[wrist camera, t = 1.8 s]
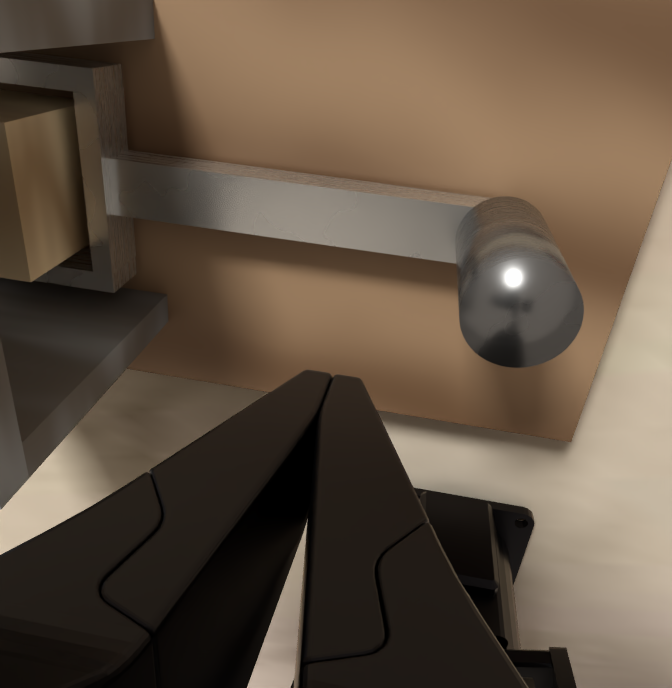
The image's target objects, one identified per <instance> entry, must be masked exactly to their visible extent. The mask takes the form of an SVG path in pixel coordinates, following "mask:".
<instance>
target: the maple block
mask: <svg viewBox="0 0 672 688" xmlns="http://www.w3.org/2000/svg"><path fill="white" fill-rule="evenodd" d="M89 244H90V241H89V232H88V223H87V214H86V205H85V196H84V187H83V178H82V169H81V160H80V151H79V142H78V133H77V125H76V116H75V107H74V99H72V98H64V97H56V96H48V95H40V94H32V93H24V92H16V91H8V90H0V278H6V279H13V280H19V281H26V282H32V281H34V280H35V279H37V278H38V277H40V276H41V275H43V274H44V273H46V272H48V271H49V270H51V269H52V268H54V267H55V266H57V265H58V264H60V263H61V262H63V261H64V260H66V259H67V258H69V257H70V256H72V255H74V254H75V253H77V252H78V251H80V250H81V249H83V248H84V247H86V246H87V245H89Z"/></svg>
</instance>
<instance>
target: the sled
mask: <svg viewBox="0 0 672 688" xmlns="http://www.w3.org/2000/svg"><path fill="white" fill-rule="evenodd" d="M0 82H1V83H9V84H17V85H25V86H33V87H41V88H49V89H57V90H65V91H73V98H74V107H75V116H76V125H77V133H78V142H79V151H80V160H81V169H82V178H83V187H84V196H85V205H86V214H87V223H88V232H89V241H90V249H86V248H83V249H81V250H80V251H78V252H77V253H75V254H74V255H72V256H70V257H69V258H67V259H66V260H64V261H63V262H61V263H60V264H58V265H57V266H55V267H54V268H52V269H51V270H49V271H48V272H46V273H44V274H43V275H41V276H40V277H38V278H37V279H35V280H34V281H39V282H46V283H52V284H59V285H65V286H72V287H78V288H85V289H91V290H98V291H104V292H111V293H115V292H116V291H117V290H118V289H119V288H120V287H122V286H123V285H124V284H125V283H126V282H127V281H129V280H130V279H131V278H132V277H133V276H135V275H136V274H137V264H136V251H135V237H134V223H133V218H139V219H146V220H153V221H160V222H167V223H174V224H181V225H188V226H195V227H202V228H209V229H216V230H223V231H230V232H237V233H244V234H251V235H258V236H265V237H272V238H279V239H286V240H293V241H300V242H307V243H315V244H322V245H329V246H336V247H343V248H350V249H357V250H364V251H371V252H378V253H385V254H392V255H399V256H406V257H413V258H420V259H427V260H434V261H441V262H448V263H455V264H456V268H457V287H458V305H459V322H460V328H461V331H462V335H463V337H464V339H465V341H466V342H467V344H468V345H469V346H470V348H471V349H472V350H473V351H474V352H475V353H476V354H478V355H479V356H480V357H482V358H483V359H485V360H487V361H489V362H491V363H493V364H496V365H499V366H504V367H511V368H524V367H531V366H536V365H539V364H542V363H545V362H547V361H549V360H551V359H553V358H555V357H556V356H558V355H559V354H561V353H562V352H563V351H564V350H566V349H567V348H568V346H569V345H570V344H571V343H572V342H573V341H574V339H575V338H576V336H577V334H578V333H579V330H580V328H581V325H582V321H583V316H584V303H583V299H582V295H581V293H580V290H579V288H578V286H577V284H576V282H575V280H574V278H573V276H572V274H571V272H570V270H569V268H568V266H567V264H566V262H565V260H564V258H563V256H562V254H561V251H560V249H559V247H558V245H557V243H556V241H555V239H554V237H553V235H552V233H551V231H550V229H549V227H548V225H547V223H546V221H545V219H544V217H543V216H542V214H541V213H540V212H539V210H538V209H537V208H536V207H535V206H533V205H532V204H530V203H529V202H527V201H525V200H523V199H520V198H516V197H510V196H501V197H494V198H489V197H481V196H474V195H466V194H459V193H451V192H443V191H436V190H428V189H421V188H413V187H405V186H398V185H390V184H383V183H375V182H368V181H360V180H352V179H345V178H337V177H330V176H322V175H314V174H307V173H299V172H292V171H284V170H277V169H269V168H261V167H254V166H246V165H239V164H231V163H223V162H216V161H208V160H201V159H193V158H186V157H178V156H170V155H163V154H155V153H148V152H140V151H132V150H128V142H127V129H126V115H125V101H124V88H123V74H122V64H118V63H109V62H101V61H93V60H84V59H76V58H67V57H59V56H51V55H42V54H34V53H25V52H17V51H15V52H4V53H0Z"/></svg>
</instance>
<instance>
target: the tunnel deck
mask: <svg viewBox="0 0 672 688" xmlns="http://www.w3.org/2000/svg"><path fill="white" fill-rule="evenodd" d="M15 51H17V52H25V53H34V54H42V55H51V56H59V57H67V58H76V59H84V60H93V61H101V62H109V63H118V64H122V74H123V88H124V101H125V115H126V129H127V142H128V150H132V151H140V152H148V153H155V154H163V155H170V156H178V157H186V158H193V159H201V160H208V161H216V162H223V163H231V164H239V165H246V166H254V167H261V168H269V169H277V170H284V171H292V172H299V173H307V174H314V175H322V176H330V177H337V178H345V179H352V180H360V181H368V182H375V183H383V184H390V185H398V186H405V187H413V188H421V189H428V190H436V191H443V192H451V193H459V194H466V195H474V196H481V197H489V198H494V197H501V196H510V197H516V198H520V199H523V200H525V201H527V202H529V203H530V204H532V205H533V206H535V207H536V208H537V209H538V210H539V212H540V213H541V214H542V216H543V217H544V219H545V221H546V223H547V225H548V227H549V229H550V231H551V233H552V235H553V237H554V239H555V241H556V243H557V245H558V247H559V249H560V251H561V254H562V256H563V258H564V260H565V262H566V264H567V266H568V268H569V270H570V272H571V274H572V276H573V278H574V280H575V282H576V284H577V286H578V288H579V290H580V293H581V295H582V299H583V303H584V316H583V321H582V325H581V328H580V330H579V333H578V334H577V336H576V338H575V339H574V341H573V342H572V343H571V344H570V345H569V346H568V348H567V349H566V350H564V351H563V352H562V353H561V354H559V355H558V356H556V357H555V358H553V359H551V360H549V361H547V362H545V363H542V364H539V365H536V366H531V367H524V368H511V367H504V366H499V365H496V364H493V363H491V362H489V361H487V360H485V359H483V358H482V357H480V356H479V355H478V354H476V353H475V352H474V351H473V350H472V349H471V348H470V346H469V345H468V344H467V342H466V341H465V339H464V337H463V335H462V331H461V328H460V322H459V305H458V287H457V268H456V264H455V263H448V262H441V261H434V260H427V259H420V258H413V257H406V256H399V255H392V254H385V253H378V252H371V251H364V250H357V249H350V248H343V247H336V246H329V245H322V244H315V243H307V242H300V241H293V240H286V239H279V238H272V237H265V236H258V235H251V234H244V233H237V232H230V231H223V230H216V229H209V228H202V227H195V226H188V225H181V224H174V223H167V222H160V221H153V220H146V219H139V218H133V223H134V237H135V251H136V264H137V274H136V275H135V276H133V277H132V278H131V279H130V280H129V281H127V282H126V283H125V284H124V285H123V286H122V287H120V288H119V289H118V290H117V291H116V292H115V293H111V292H104V291H98V290H91V289H85V288H78V287H72V286H65V285H59V284H52V283H46V282H39V281H32V282H26V281H19V280H13V279H6V278H0V509H2V508H3V507H4V506H5V504H6V503H7V502H8V501H9V500H10V499H11V498H12V497H13V495H14V494H15V493H16V492H17V491H18V490H19V489H20V488H21V486H22V485H23V484H24V483H25V482H26V481H27V480H28V479H29V477H30V476H31V475H32V474H33V473H34V472H35V471H36V470H37V469H38V467H39V466H40V465H41V464H42V463H43V462H44V461H45V460H46V458H47V457H48V456H49V455H50V454H51V453H52V452H53V451H54V449H55V448H56V447H57V446H58V445H59V444H60V443H61V442H62V440H63V439H64V438H65V437H66V436H67V435H68V434H69V433H70V431H71V430H72V429H73V428H74V427H75V426H76V425H77V424H78V422H79V421H80V420H81V419H82V418H83V417H84V416H85V415H86V413H87V412H88V411H89V410H90V409H91V408H92V407H93V406H94V404H95V403H96V402H97V401H98V400H99V399H100V398H101V397H102V395H103V394H104V393H105V392H106V391H107V390H108V389H109V388H110V386H111V385H112V384H113V383H114V382H115V381H116V380H117V379H118V377H119V376H120V375H121V374H122V373H123V372H124V371H125V370H126V368H127V369H133V370H139V371H145V372H151V373H157V374H163V375H169V376H175V377H181V378H187V379H193V380H199V381H205V382H211V383H217V384H223V385H229V386H235V387H241V388H247V389H253V390H259V391H265V392H271V391H273V390H274V389H276V388H277V387H279V386H280V385H282V384H284V383H285V382H287V381H288V380H290V379H291V378H293V377H294V376H296V375H298V374H299V373H301V372H302V371H304V370H314V371H321V372H327V373H330V374H331V375H332V377H333V376H334V375H337V374H339V375H346V376H352V377H358V378H360V379H361V380H362V381H363V383H364V385H365V387H366V389H367V391H368V393H369V396H370V398H371V400H372V402H373V404H374V406H375V408H376V410H380V411H386V412H392V413H398V414H404V415H411V416H417V417H423V418H429V419H435V420H441V421H447V422H453V423H459V424H465V425H471V426H477V427H483V428H489V429H495V430H501V431H507V432H513V433H519V434H525V435H531V436H537V437H543V438H549V439H556V440H562V441H568V442H571V441H572V438H573V435H574V432H575V429H576V427H577V424H578V421H579V418H580V415H581V413H582V410H583V407H584V404H585V401H586V399H587V396H588V393H589V390H590V387H591V384H592V382H593V379H594V376H595V373H596V370H597V368H598V365H599V362H600V359H601V356H602V354H603V351H604V348H605V345H606V342H607V339H608V337H609V334H610V331H611V328H612V325H613V323H614V320H615V317H616V314H617V311H618V309H619V306H620V303H621V300H622V297H623V295H624V292H625V289H626V286H627V283H628V280H629V278H630V275H631V272H632V269H633V266H634V264H635V261H636V258H637V255H638V252H639V250H640V247H641V244H642V241H643V238H644V235H645V233H646V230H647V227H648V224H649V221H650V219H651V216H652V213H653V210H654V207H655V205H656V202H657V199H658V196H659V193H660V191H661V188H662V185H663V182H664V179H665V176H666V174H667V171H668V168H669V165H670V162H671V160H672V0H0V53H4V52H15ZM0 90H8V91H16V92H24V93H32V94H40V95H48V96H56V97H64V98H72V99H74V98H73V91H65V90H57V89H49V88H41V87H33V86H25V85H17V84H9V83H1V82H0ZM84 248H86V249H90V244H89V245H87V246H86V247H84Z"/></svg>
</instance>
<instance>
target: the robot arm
mask: <svg viewBox="0 0 672 688" xmlns="http://www.w3.org/2000/svg"><path fill="white" fill-rule="evenodd" d="M307 519H308V522H307ZM517 519H525V520H523V521H518V520H517ZM306 522H307V533H306V545H305V557H304V569H303V581H302V593H301V605H300V617H299V629H298V642H297V654H296V666H295V678H294V680H293V683H292V685H291V688H577V687H576V683H575V680H574V676H573V672H572V668H571V664H570V660H569V657H568V653H567V649H566V648H561V647H549V650H521V647H520V639H519V631H518V623H517V614H516V606H515V598H514V590H513V584H514V582H515V579H516V576H517V573H518V570H519V567H520V564H521V561H522V559H523V556H524V553H525V550H526V547H527V544H528V541H529V538H530V536H531V533H532V530H533V527H534V518H533V514H532V512H531V511H530V510H529V509H527V508H524V507H520V506H514V505H509V504H503V503H497V502H492V501H486V500H480V499H475V498H469V497H463V496H458V495H452V494H446V493H441V492H435V491H429V490H423V489H418V488H413V486H412V484H411V482H410V479H409V477H408V475H407V473H406V471H405V469H404V467H403V465H402V463H401V461H400V458H399V456H398V454H397V452H396V450H395V448H394V446H393V444H392V442H391V440H390V437H389V435H388V433H387V431H386V429H385V427H384V425H383V423H382V421H381V419H380V416H379V414H378V412H377V410H376V408H375V406H374V404H373V402H372V400H371V398H370V396H369V393H368V391H367V389H366V387H365V385H364V383H363V381H362V380H361V379H360V378H358V377H352V376H346V375H339V374H337V375H334V376H333V377H332V375H331V374H330V373H327V372H321V371H314V370H304V371H302V372H301V373H299V374H298V375H296V376H294V377H293V378H291V379H290V380H288V381H287V382H285V383H284V384H282V385H280V386H279V387H277V388H276V389H274V390H273V391H271V392H270V393H268V394H267V395H265V396H263V397H262V398H260V399H259V400H257V401H256V402H254V403H253V404H251V405H250V406H248V407H246V408H245V409H243V410H242V411H240V412H239V413H237V414H236V415H234V416H232V417H231V418H229V419H228V420H226V421H225V422H223V423H222V424H220V425H219V426H217V427H215V428H214V429H212V430H211V431H209V432H208V433H206V434H205V435H203V436H202V437H200V438H198V439H197V440H195V441H194V442H192V443H191V444H189V445H188V446H186V447H185V448H183V449H181V450H180V451H178V452H177V453H175V454H174V455H172V456H171V457H169V458H167V459H166V460H164V461H163V462H161V463H160V464H158V465H157V466H155V467H154V468H152V469H151V470H150V473H148V472H146V473H144V474H142V475H141V476H139V477H138V478H136V479H135V480H133V481H131V482H130V483H128V484H127V485H125V486H124V487H122V488H120V489H119V490H117V491H115V492H114V493H112V494H111V495H109V496H107V497H106V498H104V499H102V500H101V501H99V502H97V503H96V504H94V505H93V506H91V507H89V508H87V509H86V510H84V511H82V512H80V513H78V514H76V515H75V516H73V517H71V518H69V519H67V520H65V521H64V522H62V523H60V524H58V525H56V526H55V527H53V528H51V529H49V530H47V531H45V532H43V533H42V534H40V535H38V536H36V537H34V538H32V539H30V540H28V541H26V542H24V543H22V544H20V545H18V546H17V547H15V548H13V549H11V550H9V551H7V552H5V553H3V554H1V555H0V688H247V686H248V683H249V680H250V677H251V675H252V672H253V669H254V666H255V664H256V661H257V658H258V655H259V653H260V650H261V647H262V644H263V642H264V639H265V636H266V633H267V631H268V628H269V625H270V623H271V620H272V617H273V614H274V612H275V609H276V606H277V603H278V601H279V598H280V595H281V592H282V590H283V587H284V584H285V581H286V579H287V576H288V573H289V570H290V568H291V565H292V562H293V559H294V557H295V554H296V551H297V548H298V546H299V543H300V540H301V538H302V535H303V532H304V528H305V525H306Z"/></svg>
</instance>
